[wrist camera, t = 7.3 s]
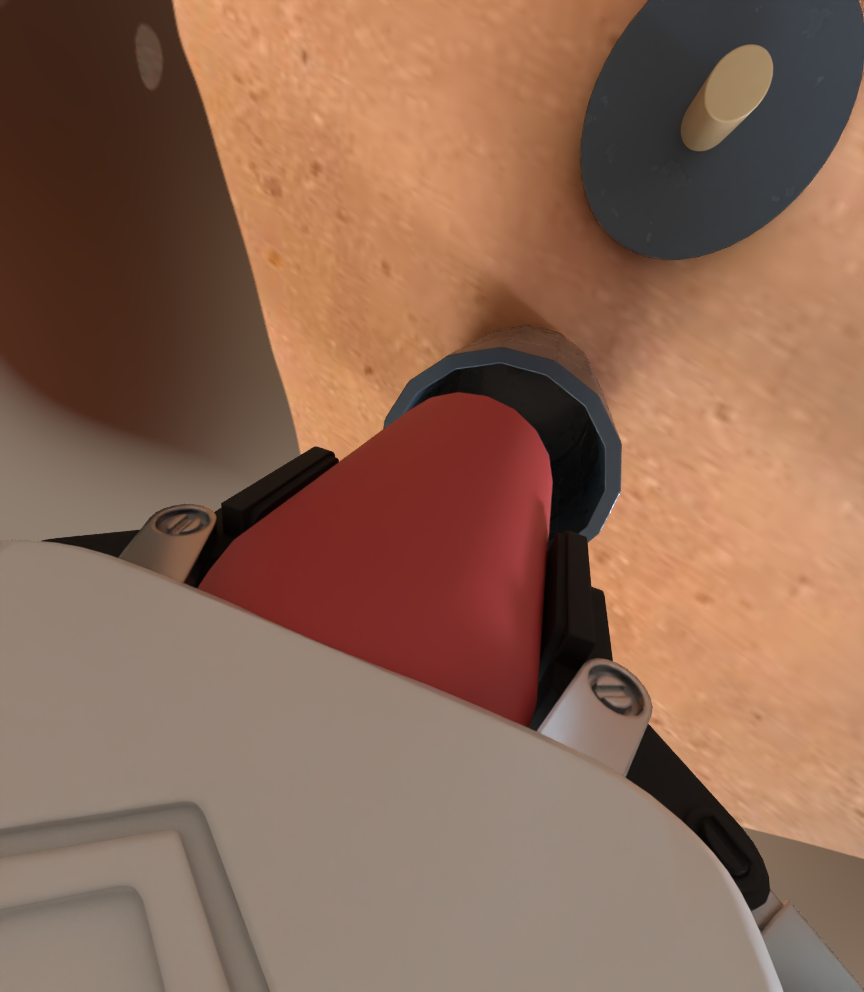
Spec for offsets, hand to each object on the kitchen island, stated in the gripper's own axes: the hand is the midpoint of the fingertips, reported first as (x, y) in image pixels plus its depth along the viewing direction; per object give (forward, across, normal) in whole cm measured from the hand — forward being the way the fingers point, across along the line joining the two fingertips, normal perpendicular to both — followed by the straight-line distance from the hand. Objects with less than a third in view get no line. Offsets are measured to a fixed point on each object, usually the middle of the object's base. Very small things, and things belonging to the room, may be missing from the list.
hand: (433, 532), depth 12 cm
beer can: (+5, 0, 0) cm, 5 cm away
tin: (+23, -1, +2) cm, 23 cm away
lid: (+23, -6, -16) cm, 29 cm away
